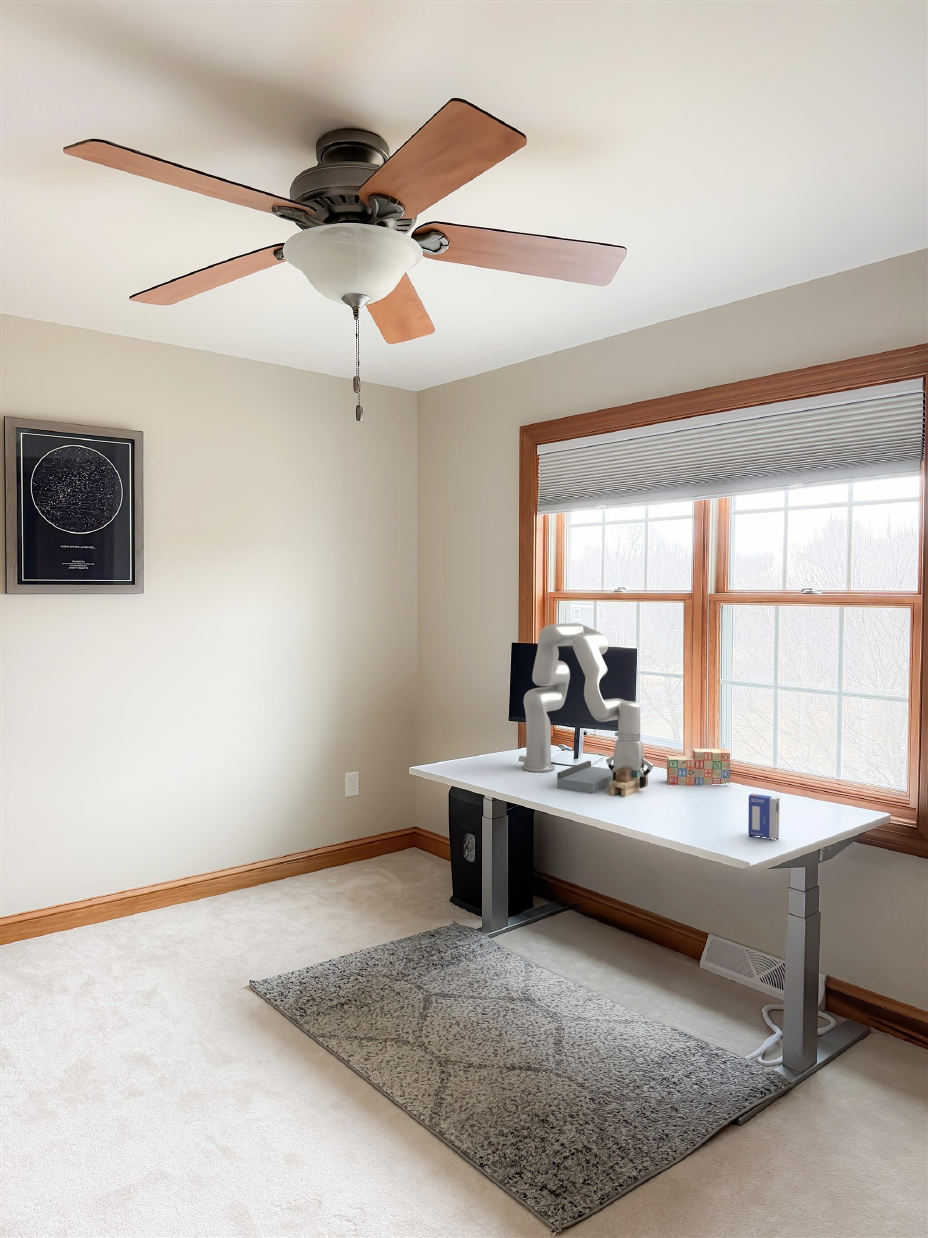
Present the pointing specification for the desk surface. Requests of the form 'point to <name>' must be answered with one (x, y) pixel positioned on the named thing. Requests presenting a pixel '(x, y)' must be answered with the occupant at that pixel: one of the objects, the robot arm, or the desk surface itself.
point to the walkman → (763, 816)
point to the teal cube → (635, 774)
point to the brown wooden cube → (623, 775)
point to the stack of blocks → (699, 768)
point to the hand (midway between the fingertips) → (629, 785)
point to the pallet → (625, 787)
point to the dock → (584, 778)
